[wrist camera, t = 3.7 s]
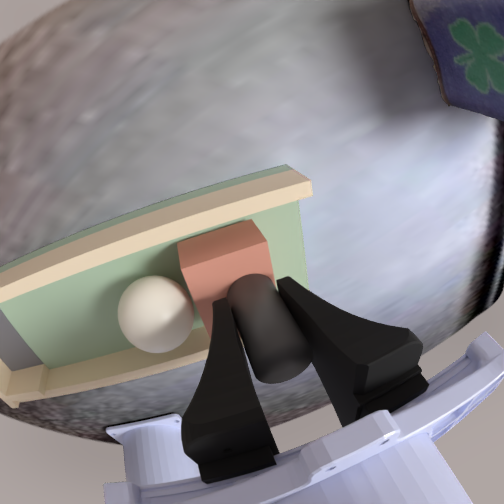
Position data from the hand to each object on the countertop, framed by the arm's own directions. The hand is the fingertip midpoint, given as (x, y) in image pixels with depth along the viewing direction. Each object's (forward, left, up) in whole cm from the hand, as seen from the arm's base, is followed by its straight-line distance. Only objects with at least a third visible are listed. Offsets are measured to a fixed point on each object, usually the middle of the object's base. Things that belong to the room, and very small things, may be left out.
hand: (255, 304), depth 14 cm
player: (0, +1, -3) cm, 3 cm away
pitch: (0, +8, -5) cm, 9 cm away
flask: (+11, -17, -5) cm, 21 cm away
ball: (0, +5, -2) cm, 5 cm away
